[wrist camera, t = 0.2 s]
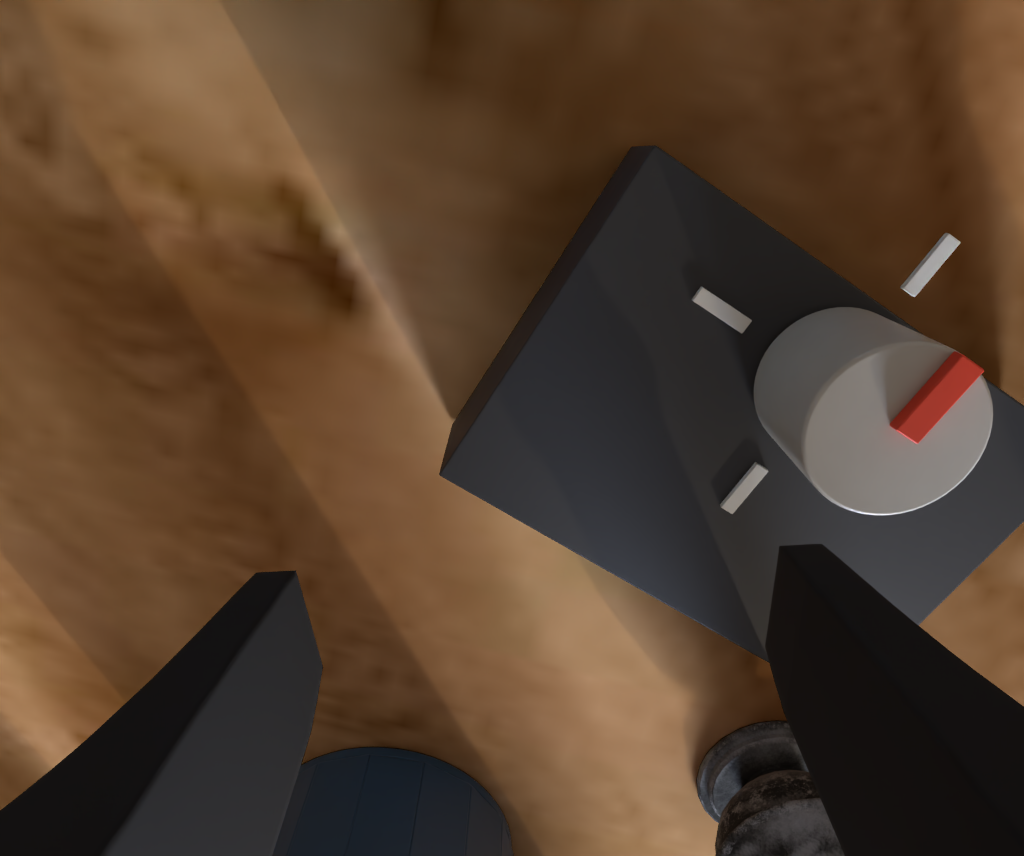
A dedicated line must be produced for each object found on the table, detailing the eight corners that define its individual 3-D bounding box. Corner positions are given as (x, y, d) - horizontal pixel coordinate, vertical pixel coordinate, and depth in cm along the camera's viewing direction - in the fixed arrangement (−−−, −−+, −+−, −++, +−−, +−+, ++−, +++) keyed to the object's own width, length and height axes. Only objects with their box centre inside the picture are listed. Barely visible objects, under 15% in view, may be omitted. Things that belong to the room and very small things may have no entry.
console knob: (837, 480, 18) (909, 555, 14) (720, 405, 17) (767, 465, 14) (943, 360, 16) (1047, 411, 13) (822, 275, 16) (900, 307, 13)
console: (795, 626, 23) (842, 707, 20) (451, 425, 21) (437, 478, 18) (1053, 351, 20) (1162, 393, 17) (676, 75, 18) (713, 56, 14)
